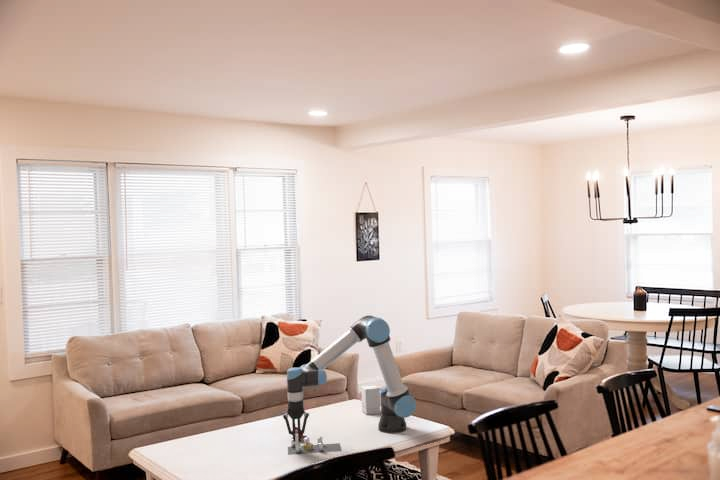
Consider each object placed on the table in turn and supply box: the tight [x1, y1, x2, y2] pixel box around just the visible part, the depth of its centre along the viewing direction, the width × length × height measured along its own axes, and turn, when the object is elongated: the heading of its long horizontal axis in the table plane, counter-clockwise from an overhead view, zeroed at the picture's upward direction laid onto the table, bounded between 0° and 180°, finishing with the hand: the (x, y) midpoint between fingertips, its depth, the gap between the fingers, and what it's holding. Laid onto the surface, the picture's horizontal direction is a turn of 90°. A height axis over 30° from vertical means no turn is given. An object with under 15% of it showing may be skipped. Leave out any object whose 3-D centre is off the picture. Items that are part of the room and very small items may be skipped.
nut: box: [303, 442, 314, 451], centre depth 325 cm, size 5×4×2 cm
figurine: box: [291, 426, 308, 439], centre depth 343 cm, size 10×8×15 cm
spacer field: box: [290, 436, 324, 455], centre depth 325 cm, size 15×11×4 cm
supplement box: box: [360, 384, 381, 416], centre depth 390 cm, size 9×9×15 cm
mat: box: [287, 443, 343, 456], centre depth 325 cm, size 26×12×1 cm, turn 96°
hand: (297, 447), depth 324 cm, fingers closed
